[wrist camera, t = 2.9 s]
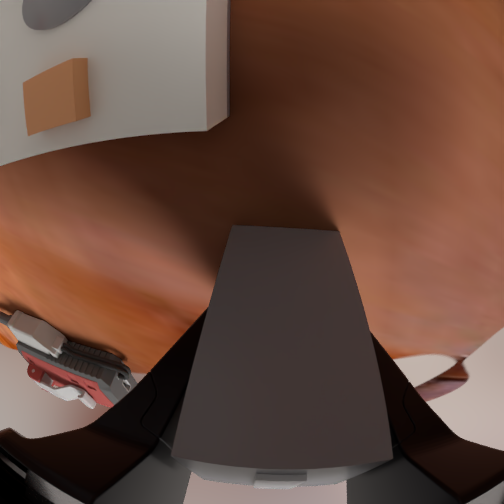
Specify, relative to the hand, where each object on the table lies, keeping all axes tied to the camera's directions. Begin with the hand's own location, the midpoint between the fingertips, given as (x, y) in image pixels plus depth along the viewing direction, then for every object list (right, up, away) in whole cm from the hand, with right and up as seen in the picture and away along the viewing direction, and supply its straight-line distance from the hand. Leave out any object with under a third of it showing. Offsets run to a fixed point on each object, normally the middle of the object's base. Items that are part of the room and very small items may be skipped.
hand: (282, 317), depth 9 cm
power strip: (-6, +17, -8) cm, 20 cm away
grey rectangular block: (0, +1, +2) cm, 3 cm away
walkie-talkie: (-19, -6, +10) cm, 23 cm away
